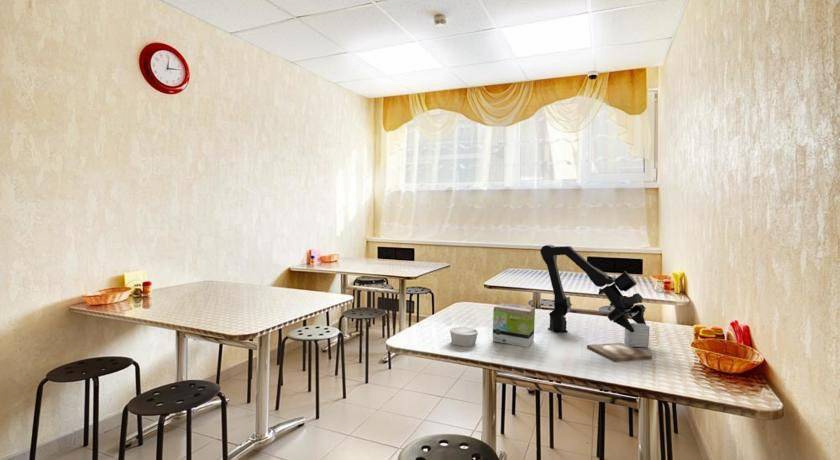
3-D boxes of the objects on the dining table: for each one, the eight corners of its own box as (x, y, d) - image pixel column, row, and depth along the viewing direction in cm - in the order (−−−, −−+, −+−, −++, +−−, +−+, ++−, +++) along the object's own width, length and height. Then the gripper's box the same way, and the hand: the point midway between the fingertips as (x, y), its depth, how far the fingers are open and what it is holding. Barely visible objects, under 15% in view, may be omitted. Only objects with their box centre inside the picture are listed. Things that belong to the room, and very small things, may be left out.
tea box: (491, 342, 174) (492, 306, 173) (499, 336, 183) (500, 302, 182) (528, 348, 167) (529, 310, 166) (534, 341, 176) (535, 306, 175)
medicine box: (643, 344, 174) (644, 323, 173) (648, 348, 169) (649, 326, 169) (623, 343, 174) (624, 322, 174) (628, 347, 170) (629, 325, 169)
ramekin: (476, 348, 165) (476, 335, 165) (448, 346, 167) (448, 333, 167) (478, 340, 176) (478, 327, 176) (451, 338, 178) (451, 326, 178)
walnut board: (614, 361, 153) (614, 357, 153) (586, 347, 169) (587, 344, 168) (651, 358, 157) (651, 355, 157) (621, 345, 172) (621, 342, 172)
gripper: (615, 288, 169) (641, 322, 160) (642, 285, 179) (667, 317, 170) (597, 304, 176) (620, 337, 167) (623, 300, 186) (647, 331, 177)
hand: (639, 330), depth 170 cm, fingers closed on medicine box, 9 cm apart
